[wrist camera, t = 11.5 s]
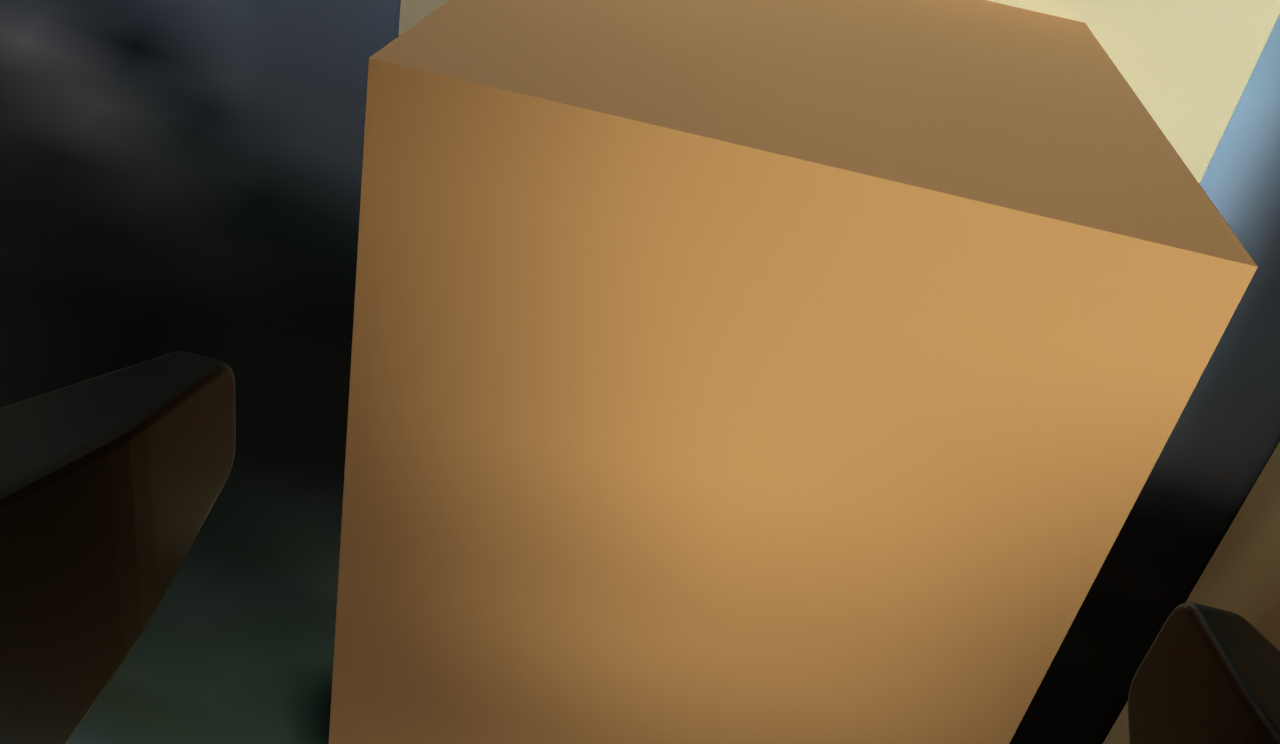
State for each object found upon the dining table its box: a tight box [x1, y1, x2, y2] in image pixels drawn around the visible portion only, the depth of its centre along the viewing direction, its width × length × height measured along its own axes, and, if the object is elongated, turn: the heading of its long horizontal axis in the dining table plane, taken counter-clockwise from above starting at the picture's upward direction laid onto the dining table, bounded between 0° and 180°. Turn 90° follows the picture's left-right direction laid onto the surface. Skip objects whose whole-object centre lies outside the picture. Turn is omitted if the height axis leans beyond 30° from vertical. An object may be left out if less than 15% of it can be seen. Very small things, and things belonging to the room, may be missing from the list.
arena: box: [1103, 442, 1280, 744], centre depth 11 cm, size 10×16×3 cm, turn 169°
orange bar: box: [329, 0, 1258, 744], centre depth 10 cm, size 7×4×5 cm, turn 169°
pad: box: [398, 0, 1280, 184], centre depth 12 cm, size 8×10×1 cm
